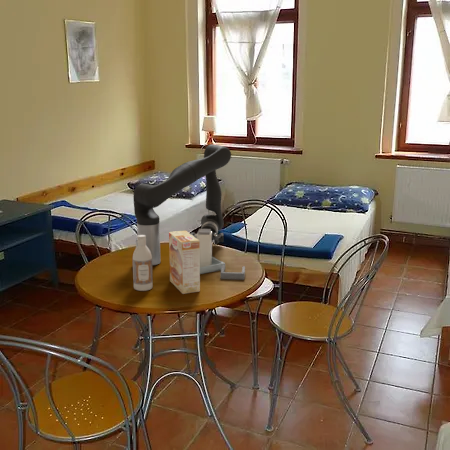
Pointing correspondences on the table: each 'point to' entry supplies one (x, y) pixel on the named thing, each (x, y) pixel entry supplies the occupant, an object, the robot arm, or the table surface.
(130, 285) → the table surface
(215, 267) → the tray
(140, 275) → the bath foam
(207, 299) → the table surface
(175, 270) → the coffeecake box
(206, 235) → the box
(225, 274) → the dock
